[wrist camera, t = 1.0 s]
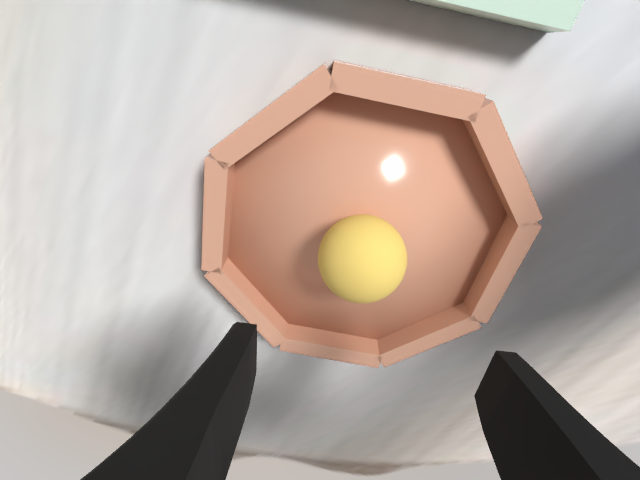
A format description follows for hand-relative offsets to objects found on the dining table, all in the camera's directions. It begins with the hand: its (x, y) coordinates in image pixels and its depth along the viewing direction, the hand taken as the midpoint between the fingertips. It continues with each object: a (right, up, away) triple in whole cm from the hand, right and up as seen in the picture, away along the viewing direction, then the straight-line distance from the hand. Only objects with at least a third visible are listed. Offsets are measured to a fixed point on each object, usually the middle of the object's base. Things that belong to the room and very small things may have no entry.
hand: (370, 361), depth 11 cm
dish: (+1, +4, +7) cm, 9 cm away
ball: (0, +4, +7) cm, 8 cm away
